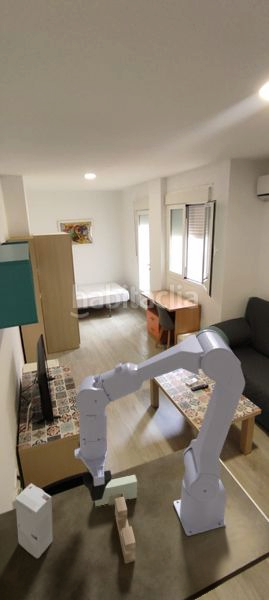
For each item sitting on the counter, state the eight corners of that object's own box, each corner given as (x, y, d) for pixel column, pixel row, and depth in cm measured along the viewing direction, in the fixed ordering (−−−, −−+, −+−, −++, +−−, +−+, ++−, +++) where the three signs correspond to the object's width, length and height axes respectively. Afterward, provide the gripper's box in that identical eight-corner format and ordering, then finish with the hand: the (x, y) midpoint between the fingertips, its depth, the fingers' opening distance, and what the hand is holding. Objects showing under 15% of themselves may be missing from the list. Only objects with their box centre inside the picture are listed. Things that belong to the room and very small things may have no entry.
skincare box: (17, 543, 61) (12, 498, 57) (34, 525, 64) (30, 481, 61) (38, 560, 58) (34, 514, 54) (55, 540, 62) (52, 495, 58)
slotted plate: (134, 490, 73) (135, 474, 72) (136, 497, 71) (137, 481, 70) (94, 499, 71) (94, 483, 69) (95, 507, 69) (95, 490, 67)
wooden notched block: (123, 513, 67) (123, 496, 66) (135, 560, 58) (135, 542, 57) (115, 515, 67) (115, 498, 66) (125, 563, 58) (125, 545, 56)
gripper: (71, 413, 67) (73, 461, 71) (77, 463, 53) (79, 519, 57) (101, 408, 69) (102, 455, 72) (114, 455, 55) (114, 510, 59)
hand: (94, 483), depth 65 cm, fingers open, 7 cm apart
